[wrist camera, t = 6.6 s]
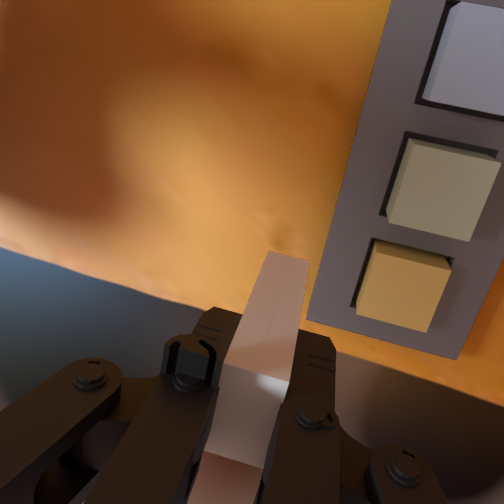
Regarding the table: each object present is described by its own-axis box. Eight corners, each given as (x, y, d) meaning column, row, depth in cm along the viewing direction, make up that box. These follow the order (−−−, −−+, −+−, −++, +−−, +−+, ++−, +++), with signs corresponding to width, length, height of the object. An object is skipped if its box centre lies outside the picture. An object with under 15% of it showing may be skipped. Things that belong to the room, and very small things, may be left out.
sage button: (385, 209, 37) (388, 222, 34) (409, 137, 35) (414, 144, 31) (459, 227, 36) (469, 241, 33) (488, 154, 34) (501, 163, 31)
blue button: (421, 97, 33) (428, 100, 30) (450, 8, 31) (461, 1, 28) (504, 114, 33) (519, 119, 29) (539, 24, 30) (561, 18, 27)
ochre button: (356, 295, 42) (356, 314, 39) (375, 237, 39) (376, 252, 36) (420, 312, 41) (426, 332, 38) (443, 254, 39) (451, 270, 35)
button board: (308, 306, 44) (305, 319, 42) (403, -44, 32) (407, -53, 30) (451, 345, 43) (456, 360, 40) (608, -11, 30) (629, -17, 28)
